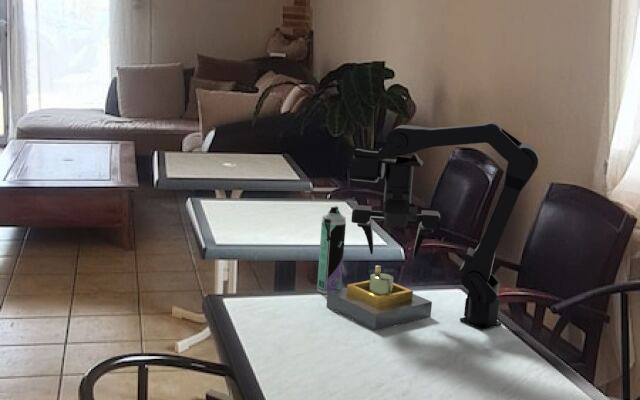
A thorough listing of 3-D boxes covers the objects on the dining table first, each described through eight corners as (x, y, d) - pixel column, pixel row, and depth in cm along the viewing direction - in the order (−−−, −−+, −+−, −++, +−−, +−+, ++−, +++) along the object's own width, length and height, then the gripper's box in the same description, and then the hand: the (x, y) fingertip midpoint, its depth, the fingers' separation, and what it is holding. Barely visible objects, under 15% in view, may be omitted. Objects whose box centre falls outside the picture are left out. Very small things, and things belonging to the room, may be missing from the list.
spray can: (338, 296, 184) (344, 210, 180) (314, 292, 185) (320, 208, 181) (342, 288, 190) (348, 205, 185) (319, 285, 191) (325, 203, 186)
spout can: (395, 313, 175) (399, 269, 173) (378, 317, 172) (381, 272, 170) (379, 306, 179) (383, 263, 177) (362, 310, 176) (366, 266, 174)
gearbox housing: (430, 317, 175) (432, 292, 173) (375, 330, 165) (377, 305, 164) (375, 292, 188) (376, 269, 187) (320, 303, 179) (322, 279, 177)
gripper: (351, 189, 165) (347, 262, 168) (444, 196, 163) (437, 270, 167) (355, 179, 176) (351, 248, 179) (442, 185, 174) (435, 255, 177)
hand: (393, 255), depth 175 cm, fingers open, 9 cm apart
